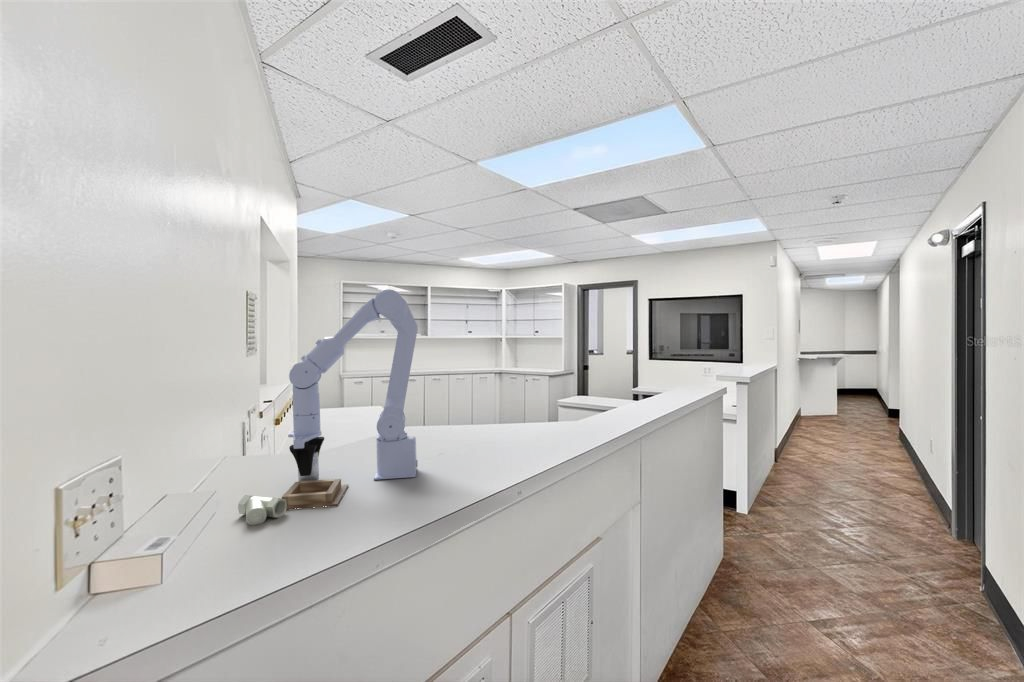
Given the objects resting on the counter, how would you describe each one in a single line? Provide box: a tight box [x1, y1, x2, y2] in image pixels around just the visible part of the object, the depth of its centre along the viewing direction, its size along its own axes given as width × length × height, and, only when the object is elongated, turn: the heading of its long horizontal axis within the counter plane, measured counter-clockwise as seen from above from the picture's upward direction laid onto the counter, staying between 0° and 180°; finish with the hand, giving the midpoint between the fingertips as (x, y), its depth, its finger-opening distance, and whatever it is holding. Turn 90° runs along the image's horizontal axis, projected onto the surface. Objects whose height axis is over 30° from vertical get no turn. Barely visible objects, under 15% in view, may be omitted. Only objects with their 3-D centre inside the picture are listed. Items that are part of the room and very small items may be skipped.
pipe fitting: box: [237, 494, 287, 527], centre depth 87 cm, size 8×4×7 cm
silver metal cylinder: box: [297, 451, 320, 482], centre depth 109 cm, size 4×4×6 cm
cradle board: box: [281, 478, 349, 511], centre depth 98 cm, size 12×12×3 cm
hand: (308, 472), depth 109 cm, fingers closed on silver metal cylinder, 4 cm apart
